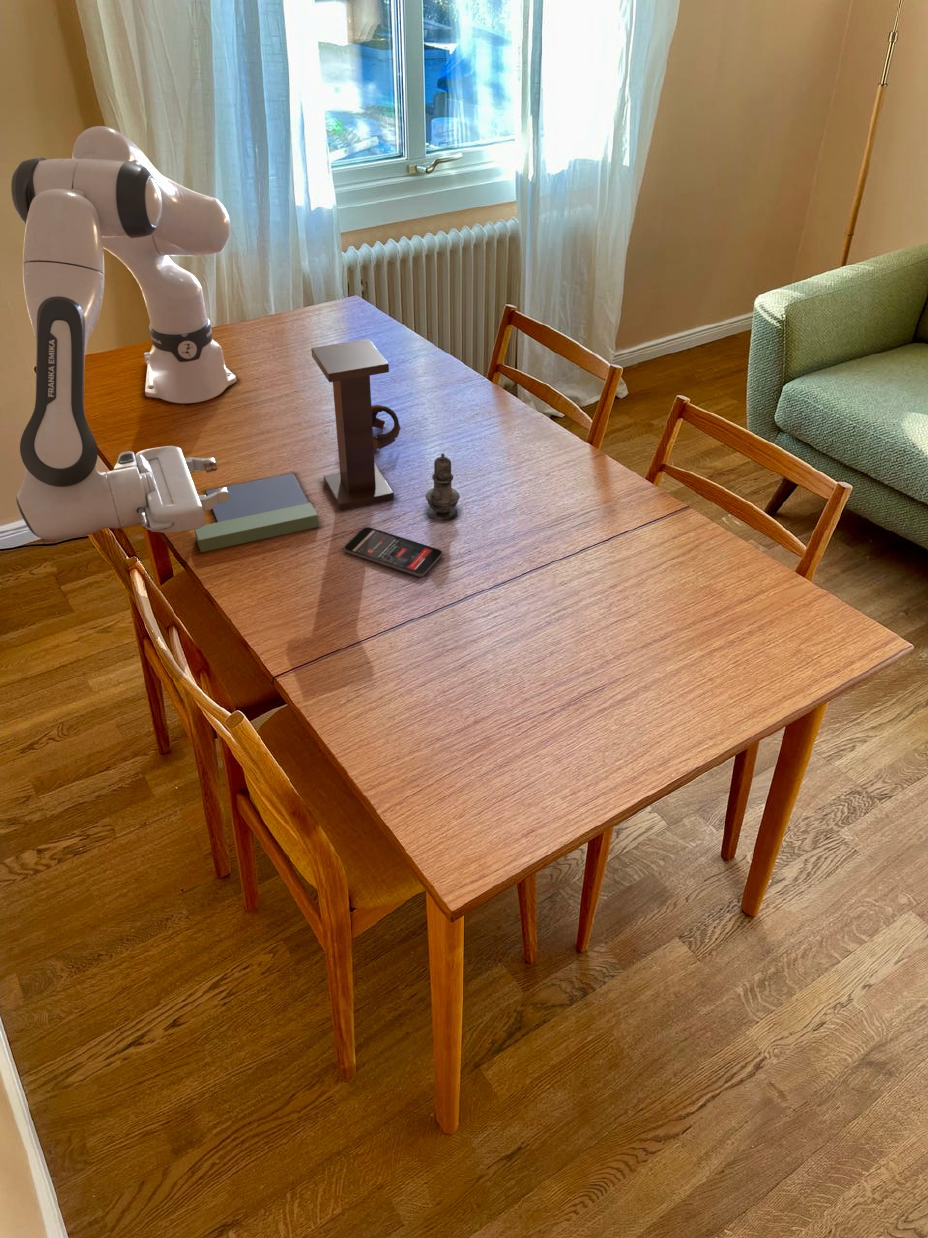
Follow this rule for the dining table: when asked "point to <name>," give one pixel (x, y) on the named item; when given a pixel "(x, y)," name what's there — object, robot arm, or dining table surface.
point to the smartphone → (393, 551)
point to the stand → (354, 422)
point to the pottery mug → (386, 438)
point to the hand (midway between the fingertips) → (222, 478)
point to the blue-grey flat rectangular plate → (259, 497)
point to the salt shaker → (442, 492)
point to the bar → (256, 527)
